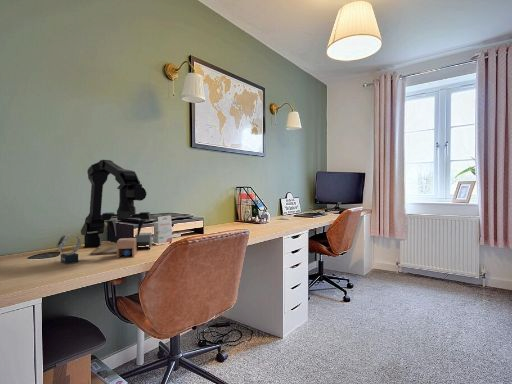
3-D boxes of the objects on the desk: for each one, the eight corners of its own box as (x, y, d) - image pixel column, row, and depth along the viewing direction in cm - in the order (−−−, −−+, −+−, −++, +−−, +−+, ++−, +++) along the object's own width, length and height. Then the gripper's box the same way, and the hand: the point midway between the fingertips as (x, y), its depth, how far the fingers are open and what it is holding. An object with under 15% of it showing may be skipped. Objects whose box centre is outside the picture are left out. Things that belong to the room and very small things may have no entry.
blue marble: (122, 256, 122) (122, 249, 122) (123, 255, 125) (123, 247, 125) (130, 256, 123) (130, 248, 123) (131, 254, 126) (131, 247, 126)
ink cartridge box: (166, 242, 155) (166, 214, 155) (172, 243, 152) (172, 215, 152) (152, 244, 148) (152, 216, 148) (158, 245, 145) (157, 216, 145)
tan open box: (116, 258, 120) (116, 241, 120) (120, 254, 126) (120, 238, 126) (133, 257, 122) (133, 240, 121) (136, 253, 128) (136, 237, 128)
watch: (54, 262, 112) (54, 234, 112) (77, 258, 118) (77, 232, 118) (59, 265, 108) (59, 236, 108) (83, 261, 114) (83, 233, 114)
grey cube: (135, 250, 135) (135, 235, 135) (137, 247, 141) (137, 233, 141) (150, 249, 136) (150, 234, 136) (151, 246, 143) (151, 232, 143)
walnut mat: (90, 255, 124) (90, 252, 124) (97, 249, 135) (97, 247, 135) (117, 253, 127) (117, 251, 127) (122, 248, 138) (122, 246, 138)
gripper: (97, 200, 113) (97, 240, 114) (147, 200, 118) (147, 238, 118) (104, 199, 124) (104, 235, 125) (150, 199, 129) (150, 234, 129)
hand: (126, 236), depth 124 cm, fingers open, 9 cm apart
